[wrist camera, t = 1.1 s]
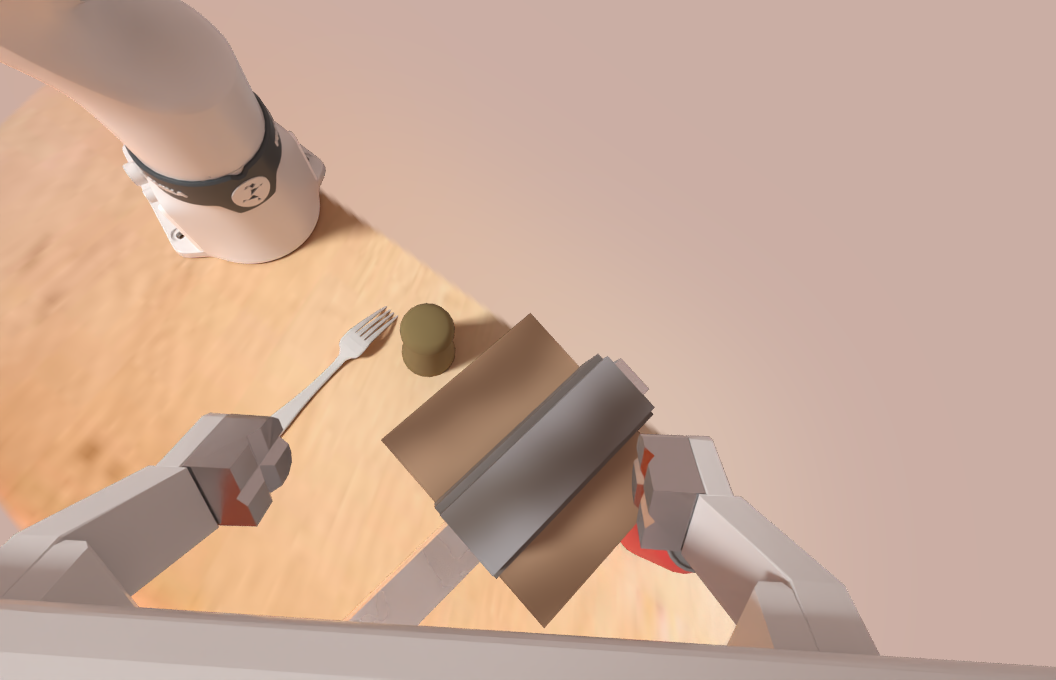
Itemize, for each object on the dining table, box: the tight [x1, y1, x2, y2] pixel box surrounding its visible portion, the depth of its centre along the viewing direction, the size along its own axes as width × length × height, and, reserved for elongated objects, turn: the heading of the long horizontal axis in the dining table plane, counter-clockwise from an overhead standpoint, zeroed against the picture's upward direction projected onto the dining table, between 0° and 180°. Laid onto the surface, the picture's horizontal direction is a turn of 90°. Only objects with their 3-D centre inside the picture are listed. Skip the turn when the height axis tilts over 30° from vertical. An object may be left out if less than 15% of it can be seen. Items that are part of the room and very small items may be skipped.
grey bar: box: [342, 358, 649, 625], centre depth 26 cm, size 2×22×2 cm, turn 133°
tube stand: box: [382, 313, 654, 628], centre depth 39 cm, size 14×12×31 cm
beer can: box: [621, 523, 696, 574], centre depth 50 cm, size 7×7×12 cm
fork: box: [270, 306, 398, 437], centre depth 53 cm, size 3×21×3 cm, turn 141°
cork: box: [400, 303, 455, 377], centre depth 51 cm, size 6×6×11 cm
